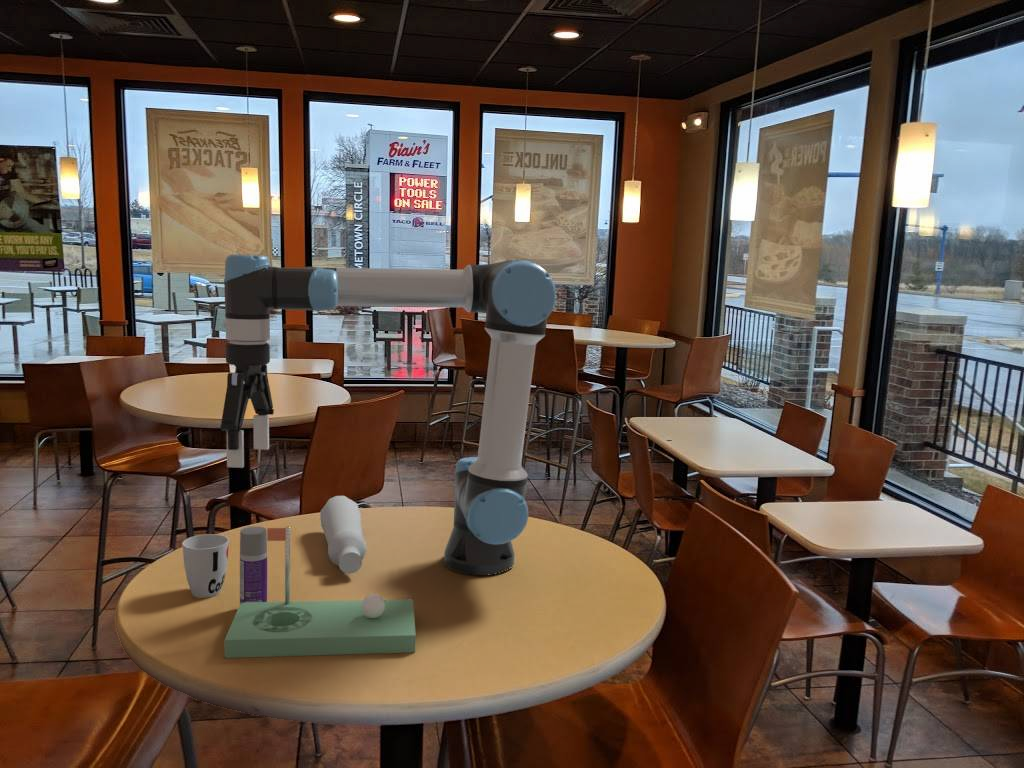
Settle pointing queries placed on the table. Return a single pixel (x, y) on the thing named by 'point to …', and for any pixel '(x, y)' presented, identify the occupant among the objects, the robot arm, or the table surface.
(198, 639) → the table surface
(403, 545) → the table surface
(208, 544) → the cup
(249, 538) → the container
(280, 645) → the green
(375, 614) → the ball
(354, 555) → the bottle
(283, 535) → the flag pin
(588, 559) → the table surface
